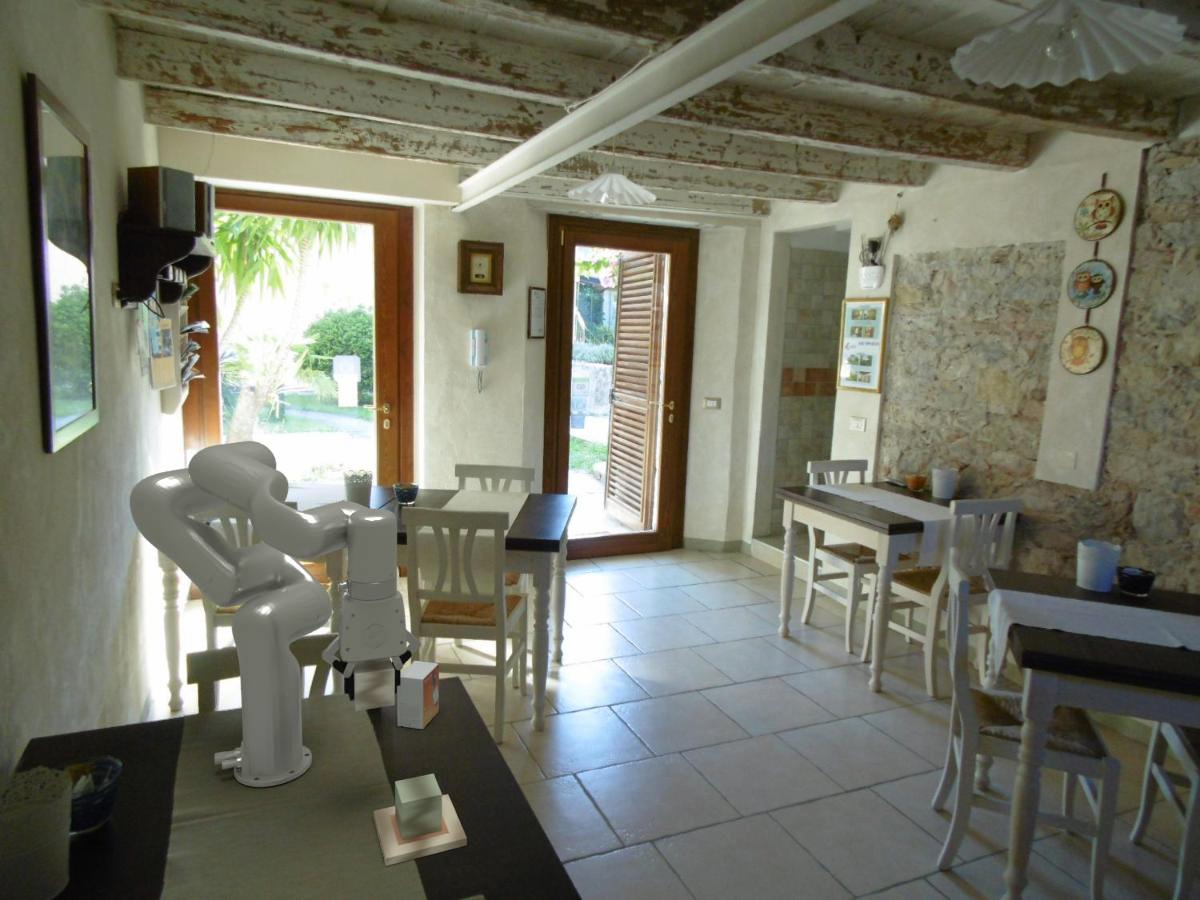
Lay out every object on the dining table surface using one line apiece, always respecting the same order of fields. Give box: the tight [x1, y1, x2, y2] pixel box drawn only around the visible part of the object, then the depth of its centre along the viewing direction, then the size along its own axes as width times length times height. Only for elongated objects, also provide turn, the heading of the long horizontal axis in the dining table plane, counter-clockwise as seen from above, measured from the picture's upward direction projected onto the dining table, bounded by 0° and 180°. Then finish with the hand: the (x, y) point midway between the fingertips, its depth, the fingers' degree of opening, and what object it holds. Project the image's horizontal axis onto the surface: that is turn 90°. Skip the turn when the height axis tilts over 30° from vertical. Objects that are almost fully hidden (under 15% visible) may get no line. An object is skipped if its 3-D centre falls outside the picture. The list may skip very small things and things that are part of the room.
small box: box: [396, 660, 440, 730], centre depth 150 cm, size 8×6×10 cm
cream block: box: [352, 658, 395, 712], centre depth 121 cm, size 6×6×6 cm
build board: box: [372, 793, 468, 867], centre depth 116 cm, size 12×12×1 cm
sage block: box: [394, 773, 443, 840], centre depth 116 cm, size 6×6×6 cm
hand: (372, 692), depth 122 cm, fingers closed on cream block, 6 cm apart
